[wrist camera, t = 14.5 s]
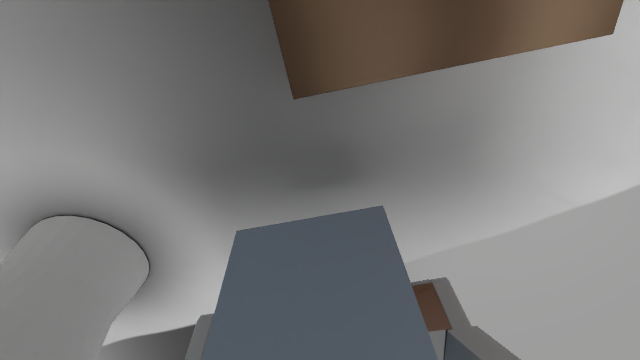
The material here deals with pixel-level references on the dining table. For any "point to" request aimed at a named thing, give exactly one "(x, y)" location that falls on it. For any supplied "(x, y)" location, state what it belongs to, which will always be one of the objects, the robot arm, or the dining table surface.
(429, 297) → the robot arm
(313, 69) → the pedestal
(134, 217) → the dining table surface
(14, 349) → the cup
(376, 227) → the blue block
